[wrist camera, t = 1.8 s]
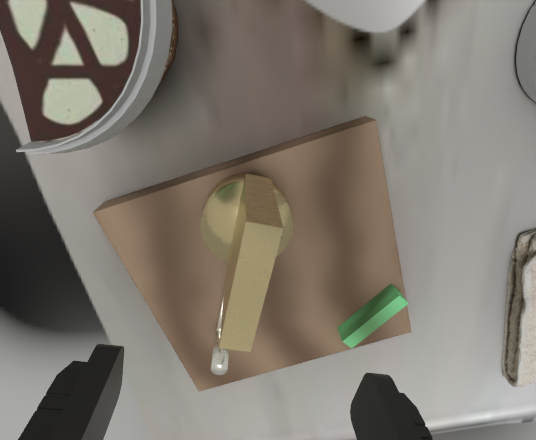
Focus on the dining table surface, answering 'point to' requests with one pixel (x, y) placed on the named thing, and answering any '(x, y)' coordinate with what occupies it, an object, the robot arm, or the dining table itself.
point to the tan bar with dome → (244, 254)
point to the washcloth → (521, 314)
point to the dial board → (286, 263)
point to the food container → (86, 65)
